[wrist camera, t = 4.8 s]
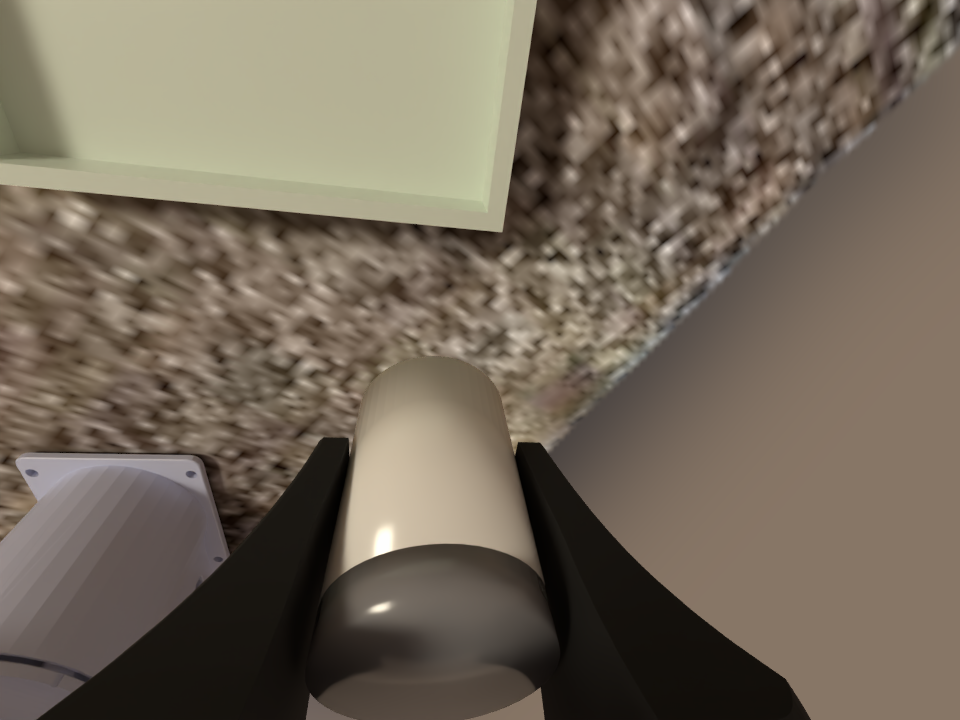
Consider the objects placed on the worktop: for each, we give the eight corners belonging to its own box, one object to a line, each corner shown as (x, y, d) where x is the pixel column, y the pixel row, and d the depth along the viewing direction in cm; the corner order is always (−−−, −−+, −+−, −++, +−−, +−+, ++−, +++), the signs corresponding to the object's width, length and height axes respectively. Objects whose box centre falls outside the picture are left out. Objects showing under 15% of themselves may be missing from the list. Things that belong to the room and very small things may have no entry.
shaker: (492, 468, 15) (534, 717, 9) (360, 466, 14) (313, 732, 8) (513, 360, 13) (588, 599, 7) (358, 352, 12) (292, 607, 6)
